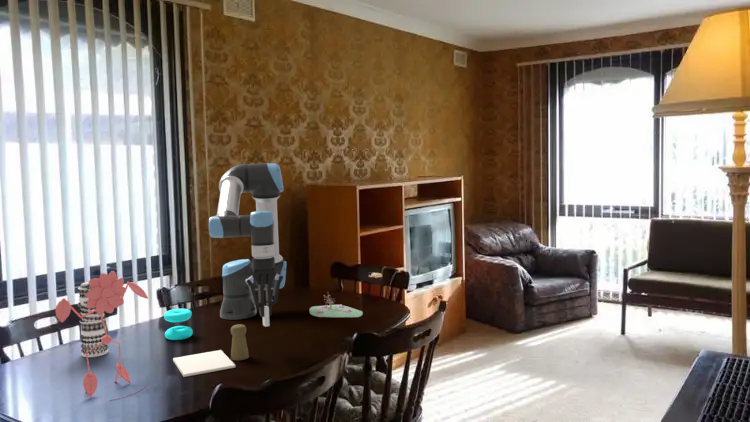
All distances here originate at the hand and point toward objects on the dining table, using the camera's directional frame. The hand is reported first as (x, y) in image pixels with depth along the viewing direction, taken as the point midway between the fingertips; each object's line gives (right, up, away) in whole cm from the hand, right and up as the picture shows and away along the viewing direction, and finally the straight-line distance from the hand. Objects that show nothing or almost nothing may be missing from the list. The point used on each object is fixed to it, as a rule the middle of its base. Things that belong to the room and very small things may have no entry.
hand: (266, 325), depth 208 cm
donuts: (-37, -9, +22) cm, 44 cm away
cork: (-8, -10, -4) cm, 14 cm away
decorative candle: (-60, -11, +5) cm, 61 cm away
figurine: (-39, -13, -31) cm, 51 cm away
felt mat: (-19, -11, -9) cm, 23 cm away
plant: (+21, -5, +54) cm, 58 cm away
